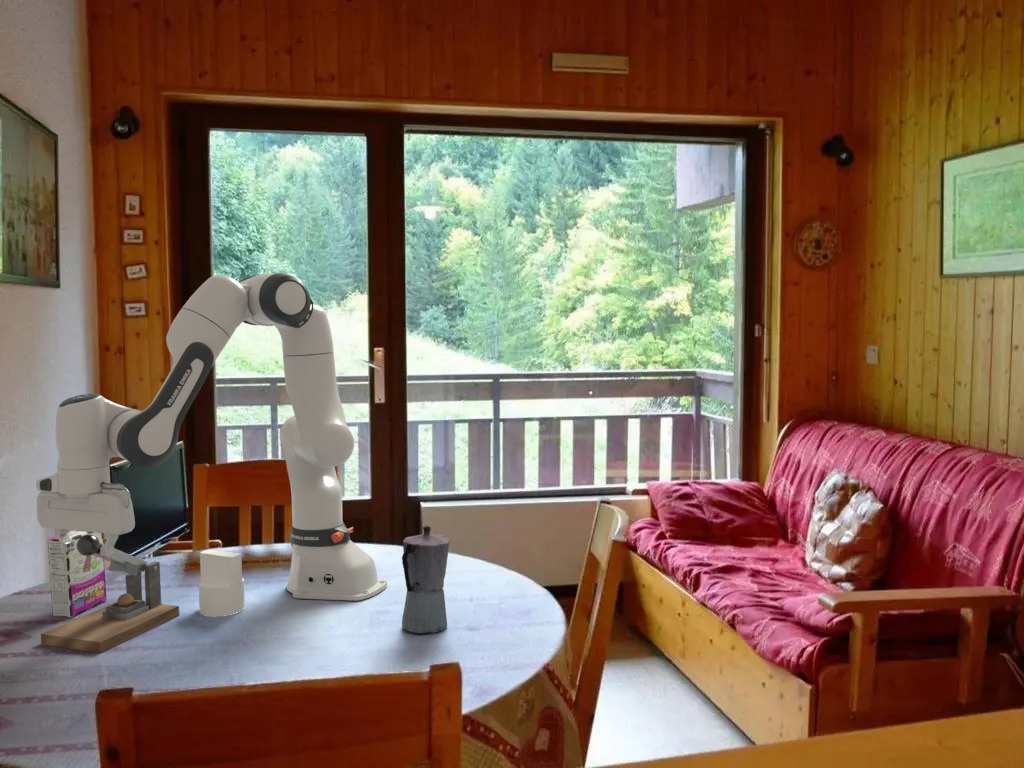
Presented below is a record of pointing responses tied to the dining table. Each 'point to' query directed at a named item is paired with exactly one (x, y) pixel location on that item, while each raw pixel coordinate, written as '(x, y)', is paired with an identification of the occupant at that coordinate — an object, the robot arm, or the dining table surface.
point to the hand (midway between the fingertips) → (87, 553)
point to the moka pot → (425, 582)
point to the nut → (125, 600)
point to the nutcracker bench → (116, 618)
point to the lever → (119, 559)
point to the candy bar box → (75, 577)
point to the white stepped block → (221, 583)
